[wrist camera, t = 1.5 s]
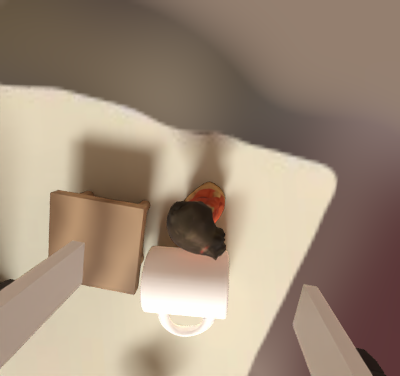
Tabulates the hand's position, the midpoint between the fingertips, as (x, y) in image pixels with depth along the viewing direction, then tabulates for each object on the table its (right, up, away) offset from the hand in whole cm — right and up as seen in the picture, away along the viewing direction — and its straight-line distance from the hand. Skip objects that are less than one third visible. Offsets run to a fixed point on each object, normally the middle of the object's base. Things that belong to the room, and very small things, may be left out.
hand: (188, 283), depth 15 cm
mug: (-1, -7, +22) cm, 23 cm away
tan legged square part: (-11, 0, +21) cm, 24 cm away
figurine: (+1, +4, +19) cm, 20 cm away
